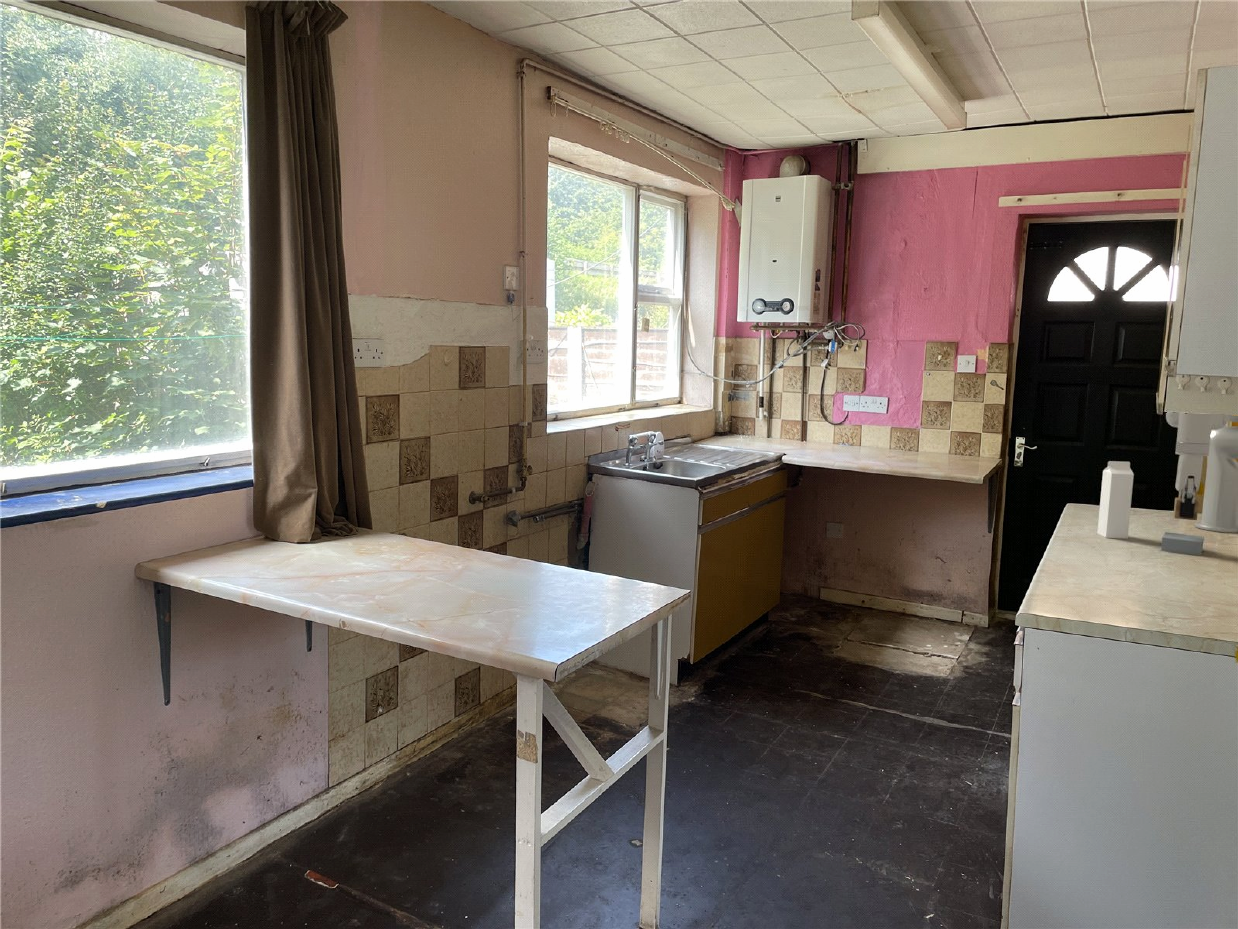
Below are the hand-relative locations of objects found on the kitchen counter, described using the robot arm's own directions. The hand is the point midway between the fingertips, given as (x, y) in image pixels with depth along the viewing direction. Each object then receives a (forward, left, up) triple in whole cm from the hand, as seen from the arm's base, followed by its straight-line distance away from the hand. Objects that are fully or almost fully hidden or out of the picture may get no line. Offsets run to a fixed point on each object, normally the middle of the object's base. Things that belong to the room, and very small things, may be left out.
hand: (1185, 515), depth 237 cm
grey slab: (0, 0, -10) cm, 10 cm away
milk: (+4, -19, -10) cm, 22 cm away
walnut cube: (0, 0, -1) cm, 1 cm away
